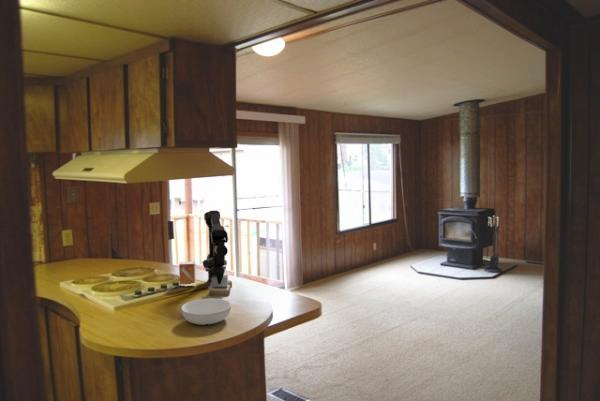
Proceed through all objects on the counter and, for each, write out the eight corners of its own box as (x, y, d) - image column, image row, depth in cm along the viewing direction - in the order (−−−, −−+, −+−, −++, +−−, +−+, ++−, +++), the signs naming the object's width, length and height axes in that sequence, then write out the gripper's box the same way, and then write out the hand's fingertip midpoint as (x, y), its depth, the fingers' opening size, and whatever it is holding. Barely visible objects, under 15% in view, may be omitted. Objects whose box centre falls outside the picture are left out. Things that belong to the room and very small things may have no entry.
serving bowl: (173, 329, 190) (173, 312, 190) (192, 312, 211) (192, 297, 210) (223, 331, 187) (222, 314, 187) (237, 313, 208) (236, 298, 207)
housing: (212, 284, 243) (212, 274, 242) (228, 283, 243) (227, 274, 243) (211, 286, 238) (211, 276, 237) (227, 286, 238) (226, 276, 238)
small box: (179, 287, 252) (178, 264, 250) (181, 284, 258) (180, 261, 257) (194, 287, 253) (194, 263, 252) (195, 284, 259) (195, 261, 258)
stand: (211, 290, 245) (211, 285, 245) (230, 289, 246) (230, 284, 246) (209, 296, 236) (209, 290, 235) (229, 295, 236) (229, 289, 236)
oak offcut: (223, 286, 254) (223, 280, 254) (230, 285, 256) (230, 280, 255) (224, 288, 251) (224, 282, 250) (232, 287, 252) (232, 281, 252)
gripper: (205, 249, 248) (206, 278, 249) (200, 257, 229) (201, 288, 231) (226, 249, 249) (227, 277, 250) (223, 256, 230) (224, 287, 231)
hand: (219, 282), depth 240 cm, fingers open, 5 cm apart
